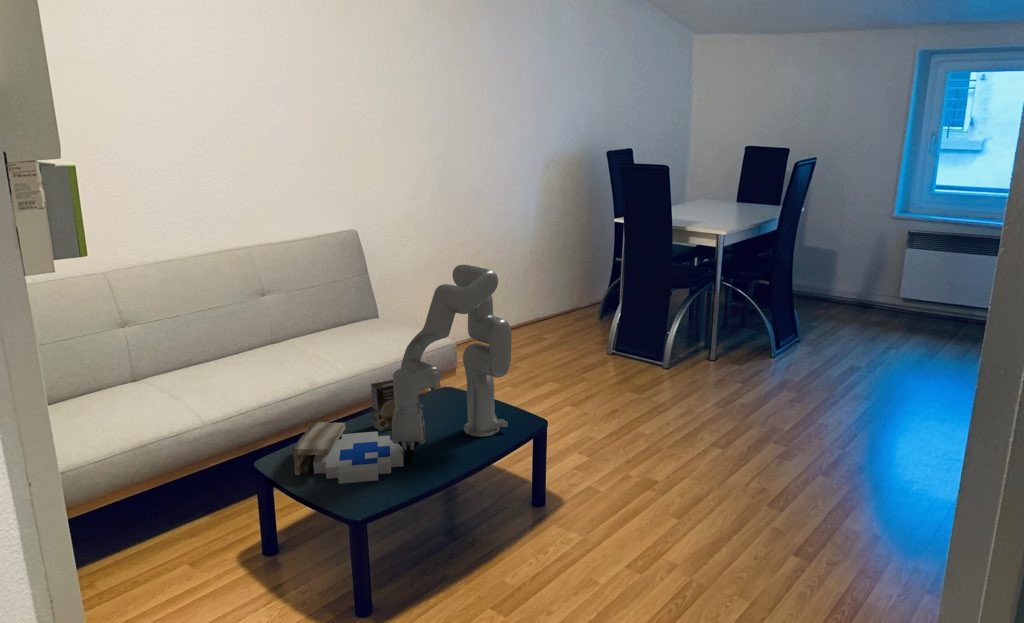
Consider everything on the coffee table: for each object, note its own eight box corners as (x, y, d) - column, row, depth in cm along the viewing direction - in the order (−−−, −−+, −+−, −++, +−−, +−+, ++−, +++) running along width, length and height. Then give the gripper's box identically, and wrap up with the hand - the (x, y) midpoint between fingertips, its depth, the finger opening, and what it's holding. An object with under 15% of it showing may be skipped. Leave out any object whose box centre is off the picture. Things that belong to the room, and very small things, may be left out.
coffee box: (379, 431, 277) (376, 389, 273) (372, 425, 282) (369, 383, 278) (403, 426, 282) (401, 384, 277) (396, 419, 287) (394, 378, 282)
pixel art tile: (401, 429, 270) (403, 467, 243) (402, 440, 271) (404, 478, 244) (318, 436, 266) (311, 475, 239) (319, 446, 267) (312, 486, 240)
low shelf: (347, 447, 265) (345, 422, 263) (329, 475, 246) (327, 449, 244) (315, 446, 266) (312, 422, 264) (295, 474, 247) (292, 448, 245)
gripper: (432, 402, 252) (434, 454, 257) (386, 402, 253) (389, 454, 258) (428, 412, 245) (431, 465, 250) (380, 411, 246) (384, 464, 251)
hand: (410, 459), depth 254 cm, fingers closed
